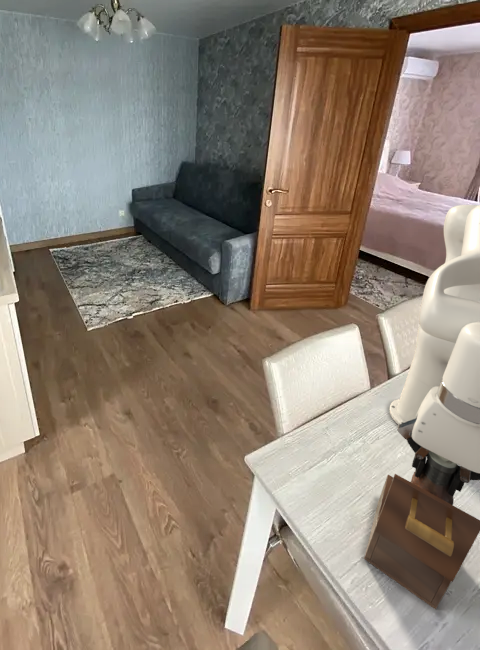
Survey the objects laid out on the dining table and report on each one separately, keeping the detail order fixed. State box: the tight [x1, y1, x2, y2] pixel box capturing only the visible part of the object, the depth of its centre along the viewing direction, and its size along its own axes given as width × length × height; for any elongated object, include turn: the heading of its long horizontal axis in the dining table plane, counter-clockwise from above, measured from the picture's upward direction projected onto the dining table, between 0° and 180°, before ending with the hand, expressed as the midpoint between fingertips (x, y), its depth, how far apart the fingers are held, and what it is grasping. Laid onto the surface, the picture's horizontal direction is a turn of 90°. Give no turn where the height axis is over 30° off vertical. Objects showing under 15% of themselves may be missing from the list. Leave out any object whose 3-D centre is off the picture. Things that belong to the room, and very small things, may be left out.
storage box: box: [363, 474, 452, 610], centre depth 65 cm, size 13×11×9 cm
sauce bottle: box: [410, 451, 458, 506], centre depth 61 cm, size 7×6×20 cm
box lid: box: [375, 473, 480, 583], centre depth 54 cm, size 14×11×6 cm
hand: (434, 479), depth 59 cm, fingers closed on sauce bottle, 4 cm apart
